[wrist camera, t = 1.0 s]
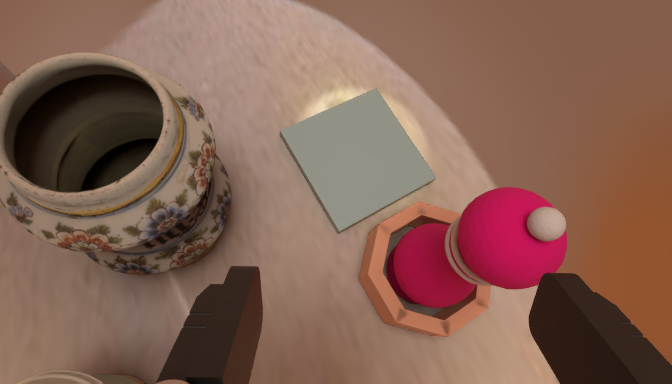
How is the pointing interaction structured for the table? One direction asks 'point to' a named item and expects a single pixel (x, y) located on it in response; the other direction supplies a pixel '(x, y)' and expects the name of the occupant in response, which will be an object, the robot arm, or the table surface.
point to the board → (356, 158)
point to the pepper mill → (480, 249)
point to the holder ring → (386, 296)
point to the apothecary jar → (111, 163)
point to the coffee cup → (78, 378)
